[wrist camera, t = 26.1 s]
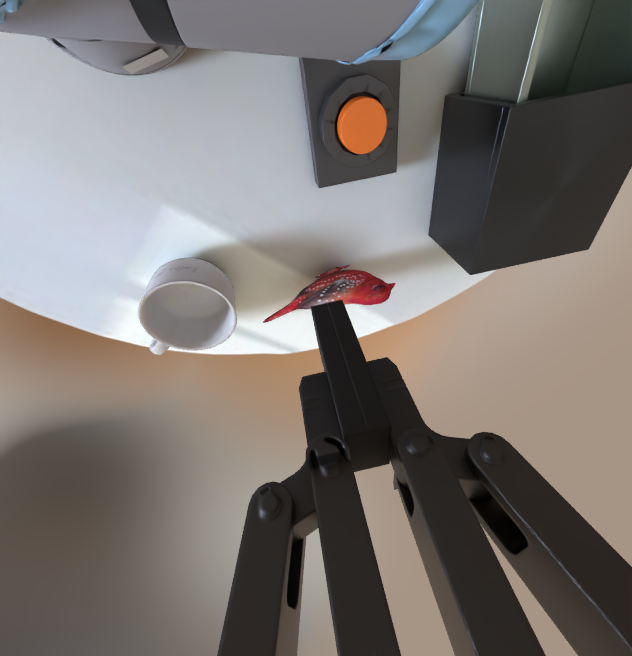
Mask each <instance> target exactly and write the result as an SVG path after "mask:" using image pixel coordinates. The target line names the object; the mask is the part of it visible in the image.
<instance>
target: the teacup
mask: <svg viewBox="0 0 632 656" xmlns="http://www.w3.org/2000/svg"><path fill="white" fill-rule="evenodd" d="M138 316H139V320H140V323H141V325H142V327H143V328H144V329H145V331H146V332H147V333H148V334H149V335H151V336H152V337H153V340H152V343H151V345H150V350H151V352H153V353H154V354H157V355H162V354H164V353H165V352H166V351H167V349H168V348H169V346H170V347H173V348H177V349H183V350H203V349H208V348H211V347H214V346H217V345H218V344H221V343H222V342H224V341H225V340H226V339H228V338H229V337H230V336H231V334H232V333H233V331H234V329H235V327H236V323H237V315H236V310H235V298H234V291H233V287H232V285H231V283H230V281H229V279H228V277H227V276H226V275H225V274H224V273H223V272H222V271H221V270H220V269H219V268H217V267H216V266H215V265H213V264H211V263H209V262H206V261H203V260H200V259H194V258H182V259H176V260H173V261H170V262H168V263H166V264H164V265H163V266H161V267H160V268H159V269H158V270H157V271H156V272H155V273H154V275H153V276H152V278H151V279H150V281H149V283H148V286H147V288H146V291H145V294H144V296H143V298H142V300H141V302H140V304H139V309H138Z"/></svg>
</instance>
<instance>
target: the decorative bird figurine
mask: <svg viewBox="0 0 632 656" xmlns="http://www.w3.org/2000/svg"><path fill="white" fill-rule="evenodd" d="M348 266H349V265H347V266H344V267H336V268H334V269H331V270H330V271H327V272H326V273H323V274H321V275H320V276H317V277H316V278H319V279H317V280H316V281H315V282H313V283H312V284H310V285H309V286H307V287H306V288H304V289H303V290H302V291H301V292H300V293H299V294H298V295H297V296H296V298H295V299H294V300H293V301H292V302H291V303H290V304H288V305H287V306H286V307H284V308H282V309H281V310H279V311H278V312H276V313H274V314H273V315H271V316H270V317H268V318H267V319H265V321H264V323H265V322H269V321H271V320H273V319H275V318H278V317H280V316H282V315H285V314H287V313H289V312H291V311H294V310H296V309H311V306H315V305H319V304H324V303H328V302H333V301H338V300H343V303H344V304H362V305H373V304H380V303H383V302H385V301H386V300H387V299H388V298H389V296H390V293H391V290H392V288H393V287H394V285H395V283H392V284H387V283H385V282H384V281H383V280H381V279H379V278H376V277H375V276H373V275H371V274H370V273H367V272H364V271H360V270H342V271H340V270H341V269H342V268H346V267H348Z"/></svg>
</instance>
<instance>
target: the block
mask: <svg viewBox="0 0 632 656" xmlns="http://www.w3.org/2000/svg"><path fill="white" fill-rule="evenodd" d="M299 62H300V69H301V77H302V84H303V92H304V99H305V106H306V114H307V121H308V129H309V136H310V144H311V151H312V159H313V166H314V173H315V181H316V184H317V185H318V187H319V188H322V187H327V186H332V185H337V184H342V183H346V182H351V181H356V180H361V179H366V178H371V177H375V176H380V175H385V174H390V173H395V172H396V169H397V142H398V115H399V87H400V60H369V61H367V62H364V63H360V64H353V63H351V64H350V65H347V64H343V63H340V62H338V61H336V60H327V59H315V58H304V57H302V58H299ZM358 96H366V97H370V98H373V99H375V100H377V101H378V102H379V103H380V104H381V105H382V106H383V108H384V110H385V112H386V116H387V128H386V132H385V135H384V138H383V140H382V141H381V143H380V144H379V145H378V146H377V147H376V148H375V149H374V150H373V151H371V152H369V153H366V154H356V153H353V152H351V151H350V150H349V149H348V148H346V147H345V146H344V145H343V144H342V142H341V141H340V139H339V136H338V132H337V121H338V117H339V114H340V111H341V110H342V108H343V107H344V105H345V104H346V103H347V102H348V101H349V100H351V99H352V98H355V97H358Z"/></svg>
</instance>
